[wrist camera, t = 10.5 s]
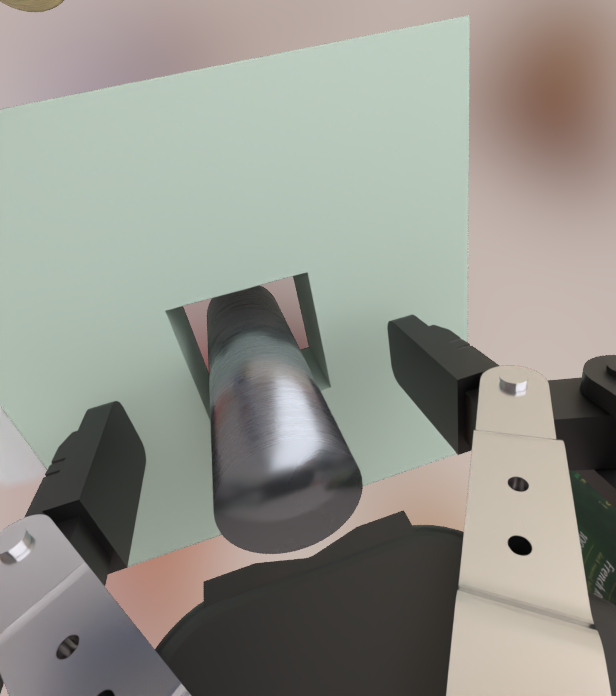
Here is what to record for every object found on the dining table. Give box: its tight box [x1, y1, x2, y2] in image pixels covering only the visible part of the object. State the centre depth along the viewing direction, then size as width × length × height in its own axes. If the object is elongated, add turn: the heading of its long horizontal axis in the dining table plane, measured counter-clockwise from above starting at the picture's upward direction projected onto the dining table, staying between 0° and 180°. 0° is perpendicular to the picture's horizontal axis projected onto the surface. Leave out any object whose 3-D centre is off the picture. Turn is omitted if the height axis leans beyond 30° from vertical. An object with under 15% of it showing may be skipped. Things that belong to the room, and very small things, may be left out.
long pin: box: [207, 285, 363, 554], centre depth 12 cm, size 3×3×10 cm
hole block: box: [0, 15, 469, 567], centre depth 15 cm, size 16×16×4 cm
